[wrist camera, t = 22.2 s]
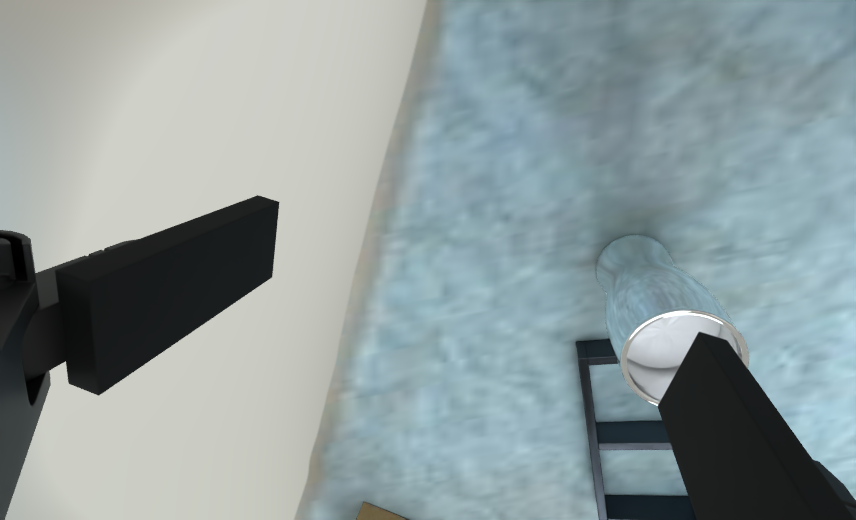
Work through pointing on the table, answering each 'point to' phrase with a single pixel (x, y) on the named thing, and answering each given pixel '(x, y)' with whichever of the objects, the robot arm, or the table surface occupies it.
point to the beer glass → (656, 313)
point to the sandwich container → (376, 513)
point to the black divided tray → (624, 513)
